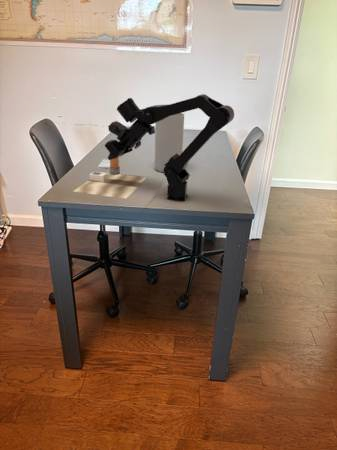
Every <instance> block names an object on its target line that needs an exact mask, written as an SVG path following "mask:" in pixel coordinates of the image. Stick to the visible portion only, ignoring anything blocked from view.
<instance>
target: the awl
mask: <svg viewBox="0 0 337 450" xmlns="http://www.w3.org/2000/svg"><path fill="white" fill-rule="evenodd" d="M111 140H112V139H109V140H108V141H111ZM115 140H116V141H117V142H119V140H118V139H115ZM108 153H109V154H110V152H109V151H108ZM108 170H109V173H110V174H111V175H118V174H119V175H121V168H120V159H119V157H118V158H114V159H111V160H110V167H109V169H108Z"/></svg>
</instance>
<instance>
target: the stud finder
mask: <svg viewBox="0 0 337 450" xmlns="http://www.w3.org/2000/svg"><path fill="white" fill-rule="evenodd" d="M107 173H108V172H103V173H102V171H99V172H98V171H93V172H91V173H90V174H89V175H88V176H89V180H92V181H100V182H104V181H106V180H107V179H108V175H107Z"/></svg>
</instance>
